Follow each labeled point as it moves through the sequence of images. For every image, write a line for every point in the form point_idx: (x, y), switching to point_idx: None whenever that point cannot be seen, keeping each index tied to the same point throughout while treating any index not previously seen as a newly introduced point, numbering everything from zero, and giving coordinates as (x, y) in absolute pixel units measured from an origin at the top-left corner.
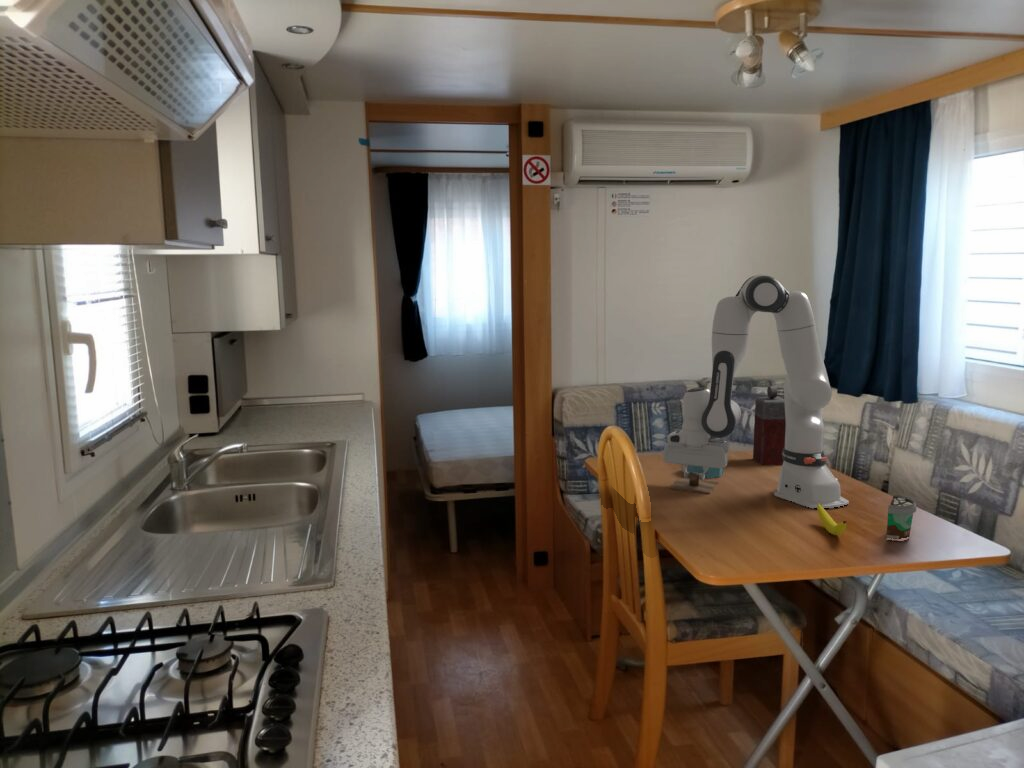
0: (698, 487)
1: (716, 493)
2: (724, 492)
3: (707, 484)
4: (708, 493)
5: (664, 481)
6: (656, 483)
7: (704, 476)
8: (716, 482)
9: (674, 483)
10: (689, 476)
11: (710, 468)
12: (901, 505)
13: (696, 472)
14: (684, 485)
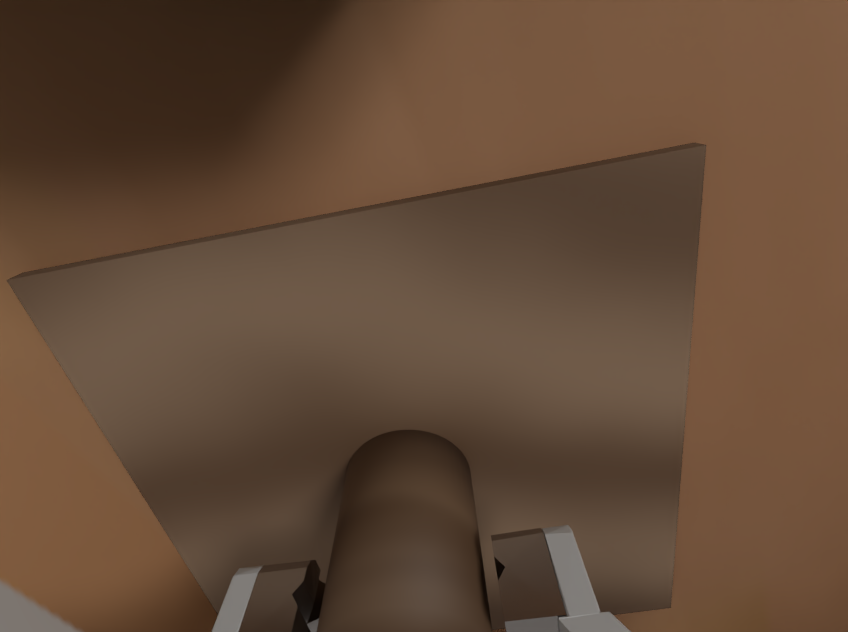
0: (494, 524)
1: (724, 547)
2: (816, 483)
3: (561, 363)
4: (648, 603)
5: (3, 481)
6: (12, 575)
7: (582, 572)
8: (678, 173)
9: (179, 536)
10: (312, 570)
11: None
12: None
13: (414, 616)
14: (318, 538)
